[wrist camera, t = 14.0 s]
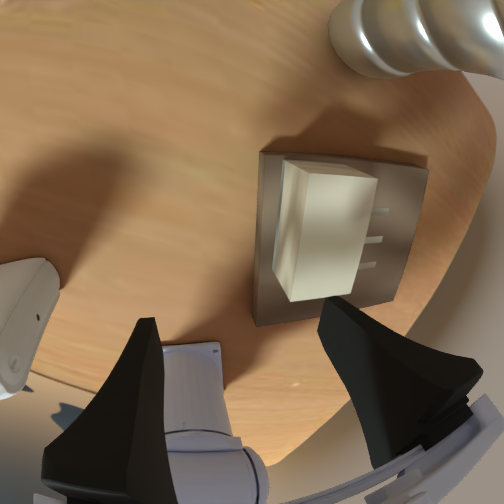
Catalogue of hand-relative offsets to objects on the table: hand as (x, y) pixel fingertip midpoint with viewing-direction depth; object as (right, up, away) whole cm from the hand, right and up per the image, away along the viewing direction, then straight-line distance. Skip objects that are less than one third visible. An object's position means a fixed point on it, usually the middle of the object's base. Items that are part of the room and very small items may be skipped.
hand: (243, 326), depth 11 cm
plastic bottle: (+8, +19, +4) cm, 21 cm away
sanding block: (+4, +5, +8) cm, 11 cm away
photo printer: (-20, +1, +6) cm, 21 cm away
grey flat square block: (+8, +4, +11) cm, 15 cm away
